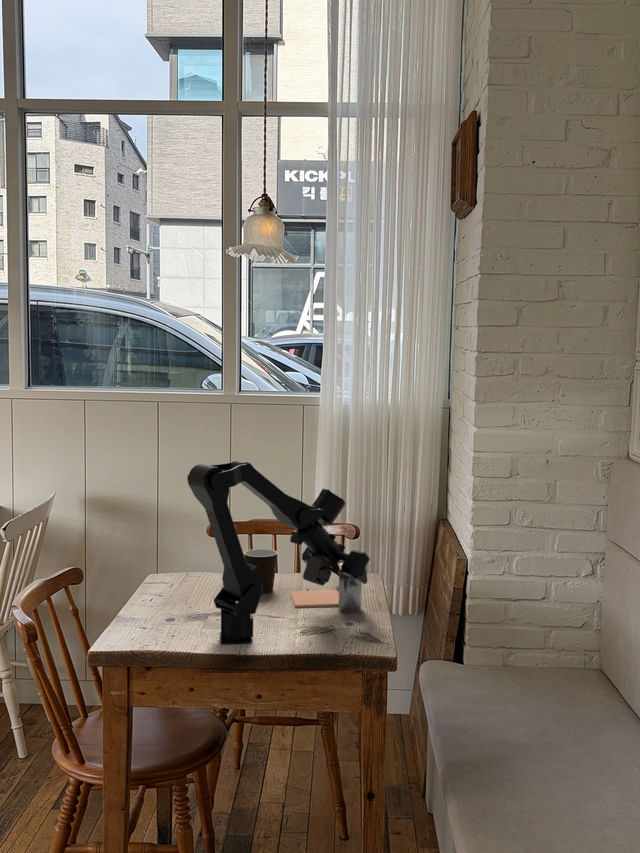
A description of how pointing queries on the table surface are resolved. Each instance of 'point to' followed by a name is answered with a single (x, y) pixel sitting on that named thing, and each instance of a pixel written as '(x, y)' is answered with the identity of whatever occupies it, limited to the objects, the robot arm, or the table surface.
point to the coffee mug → (263, 566)
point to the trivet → (315, 598)
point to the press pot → (349, 594)
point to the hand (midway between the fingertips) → (352, 578)
